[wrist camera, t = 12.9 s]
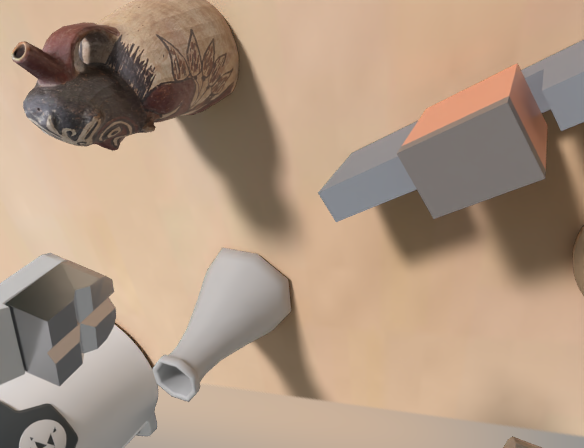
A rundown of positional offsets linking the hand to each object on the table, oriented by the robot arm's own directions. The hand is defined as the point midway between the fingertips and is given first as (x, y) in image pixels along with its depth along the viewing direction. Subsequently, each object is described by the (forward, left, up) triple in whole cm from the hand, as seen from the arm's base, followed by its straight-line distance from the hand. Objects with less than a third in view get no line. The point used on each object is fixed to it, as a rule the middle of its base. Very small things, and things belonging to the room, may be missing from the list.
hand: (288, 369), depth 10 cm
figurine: (-13, +9, -21) cm, 26 cm away
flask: (-20, -7, -21) cm, 30 cm away
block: (+1, -2, -19) cm, 19 cm away
